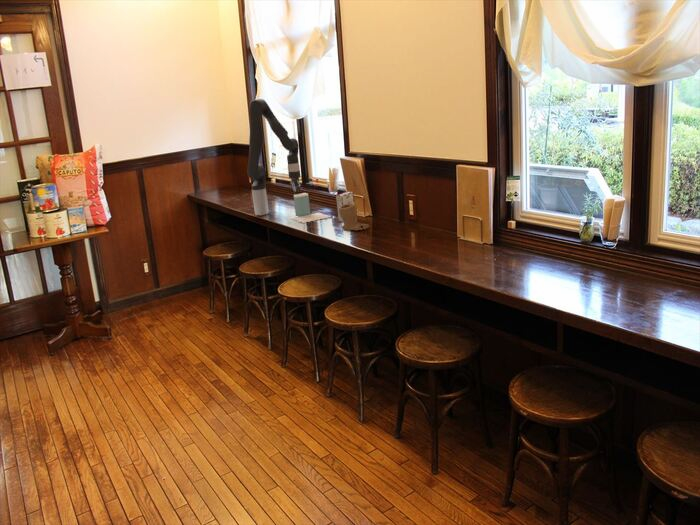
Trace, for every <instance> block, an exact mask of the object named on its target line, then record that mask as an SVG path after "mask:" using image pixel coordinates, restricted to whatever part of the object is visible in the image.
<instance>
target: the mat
mask: <svg viewBox="0 0 700 525" xmlns="http://www.w3.org/2000/svg"><path fill="white" fill-rule="evenodd" d="M329 217H331V218H332V216H330V215H328V214H324V213H321V212H316V213H310V215H305V216H300V217H291V218H290V220H292V219H293V221H295V220H296V221H295V222H297V221H299V222H298V223H300V222H302V223H301V224H306V223H305V222H308V223H311V221H313V222H317V221H321V220H320V219H322V220H326V219H325V218H327V219H330V218H329ZM316 220H317V221H316Z"/></svg>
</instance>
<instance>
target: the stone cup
mask: <svg viewBox="0 0 700 525" xmlns="http://www.w3.org/2000/svg"><path fill="white" fill-rule="evenodd" d="M339 213H340V216H341V218H342V219H343V222H342V223H343V225H342V226H341V228H340V229H342V230H348V231H358V230H362V229H364V230H366V229H368V228H369V227H370V225H369V224H368V223H360V222H358V209H357V206H356V204H355V203H354V204H353V203H352V204H345V205H342V206H340V207H339ZM362 231H363V230H362Z"/></svg>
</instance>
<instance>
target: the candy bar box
mask: <svg viewBox="0 0 700 525" xmlns="http://www.w3.org/2000/svg"><path fill="white" fill-rule="evenodd" d="M335 199H336V209H337V217H338V222H339V221H341V222H340V223H344V222H343V219H342V218H341V216H340V213H339V207H340V206H342V205H345V204H352V203H353V204H355V200H354V192H353V191H345V192H343V193H342V192H341V193H339V194H337V195H335Z"/></svg>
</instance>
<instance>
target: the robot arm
mask: <svg viewBox="0 0 700 525" xmlns="http://www.w3.org/2000/svg"><path fill="white" fill-rule="evenodd" d="M248 110H249V142H248V143H249V150H248V162H247V170H246V172H247V176H248V178H249V179H250V180H252V181H253V183H252V184H251V194H252V200H253V208H254V210H253V211H254V215H255V216H258V215H259V216H266V215H268V213H269V214H270V212H269V211H270V210H269V203H268V196H267V189H266V188H267V187H266V185H267V178H266V175H267V174H266V169H265V167H264V165H263V164H261V163H259V162H260V156H261V155H262V151H263V149H264V143H265V133H264V130H263V127H262V122H261V120H262V119H261V118H262V116H263V118H265V119H266V121H267V122H268V124H269V127H270V129H271V131H272V132H273V133H274V135H275V136H276V138H278V139H279V141H280V143H281V146H282V147H283V148H284V149H285V150H286V151H288V154H287V156H286V157H287V158H286V161H287V173H288V178H289V179H290V180H291V181H289V185H290V187H291V189H292V191H293V192H294V195H296V194H300V192H299V191H300V190H301V188H302V183H301V182H300V179H299V178H301V176H302V175H301V168H300V162H299V147H300V146H299V142H298V140H297V139H296V138H294V137H293V138H292V137H291V138H290V136H289V135H288V134H289V132H288V131H287V129H286V128H285V127H284V126H283V124H282V123H281V122H280V121H279V119H277V117H276V115H275V113H274V112H273V111H272V109H271V107H270V106H269V104H268V103H267V101H266V100H265V99H263V98H255V99H253V100H251V101H250V102H249V108H248ZM265 214H266V215H265Z"/></svg>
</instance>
